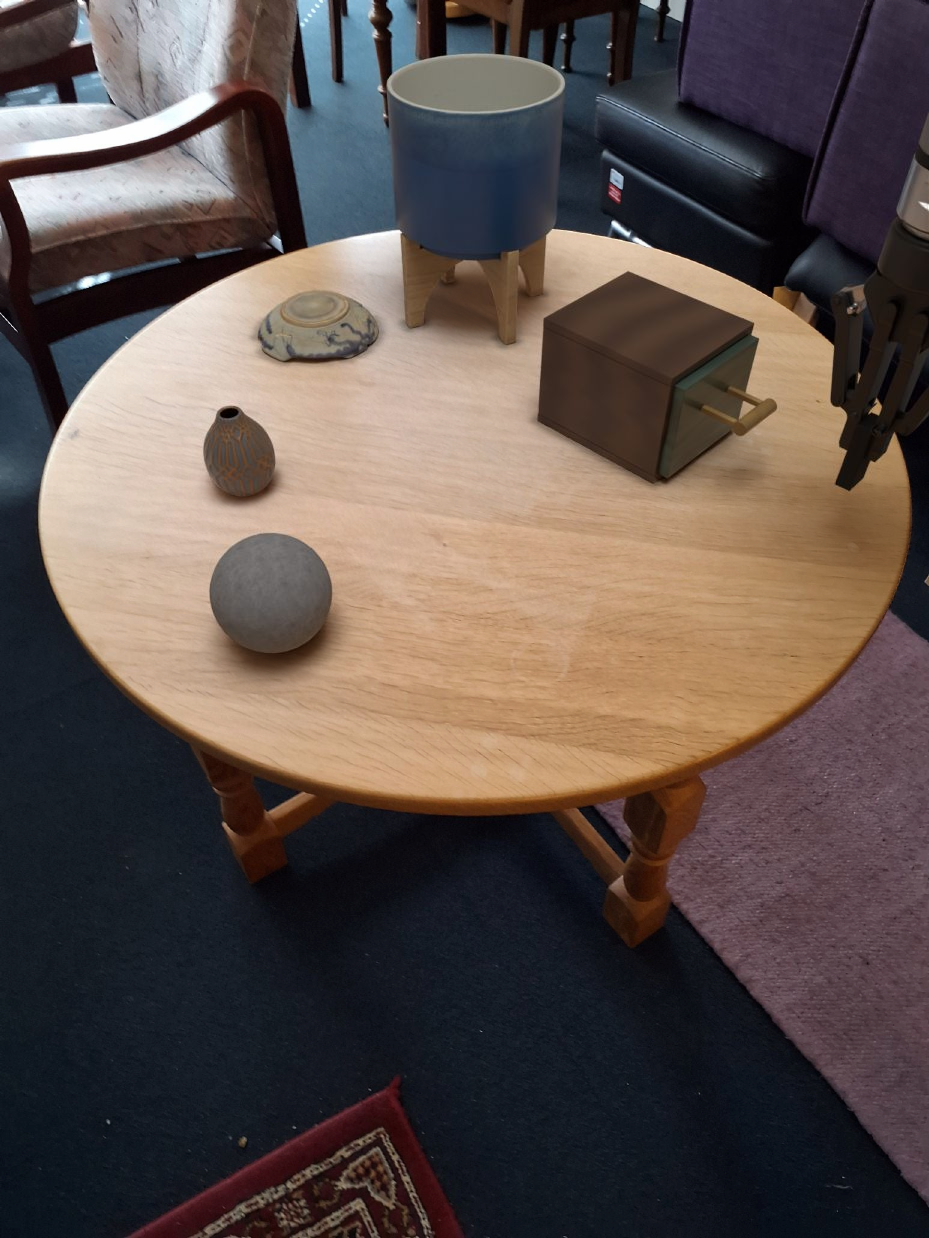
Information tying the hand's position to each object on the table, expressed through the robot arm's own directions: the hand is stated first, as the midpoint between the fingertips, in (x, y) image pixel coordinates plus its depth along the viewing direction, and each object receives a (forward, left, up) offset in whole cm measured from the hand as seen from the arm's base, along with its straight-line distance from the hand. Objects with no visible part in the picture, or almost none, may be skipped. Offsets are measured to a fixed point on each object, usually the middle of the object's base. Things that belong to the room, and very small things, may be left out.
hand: (849, 481), depth 83 cm
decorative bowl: (+64, +12, -6) cm, 66 cm away
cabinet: (+24, 0, -6) cm, 25 cm away
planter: (+54, -6, -6) cm, 55 cm away
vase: (+46, +36, -6) cm, 59 cm away
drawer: (+20, 0, -5) cm, 20 cm away
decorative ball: (+27, +46, -6) cm, 54 cm away
